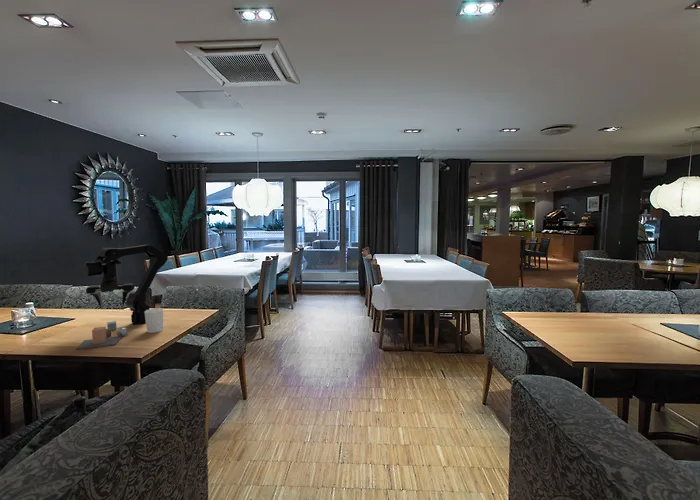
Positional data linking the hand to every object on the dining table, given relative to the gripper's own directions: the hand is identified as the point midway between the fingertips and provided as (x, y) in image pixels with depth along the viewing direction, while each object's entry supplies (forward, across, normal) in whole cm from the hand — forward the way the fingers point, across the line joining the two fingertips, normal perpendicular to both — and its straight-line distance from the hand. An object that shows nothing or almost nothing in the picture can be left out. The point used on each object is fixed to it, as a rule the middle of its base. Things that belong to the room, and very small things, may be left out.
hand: (112, 305), depth 169 cm
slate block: (+12, -1, +1) cm, 12 cm away
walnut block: (+12, -1, -11) cm, 16 cm away
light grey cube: (+12, +6, -12) cm, 18 cm away
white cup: (+12, +19, -9) cm, 24 cm away
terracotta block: (+11, -1, -19) cm, 22 cm away
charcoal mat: (+12, -1, -19) cm, 22 cm away
